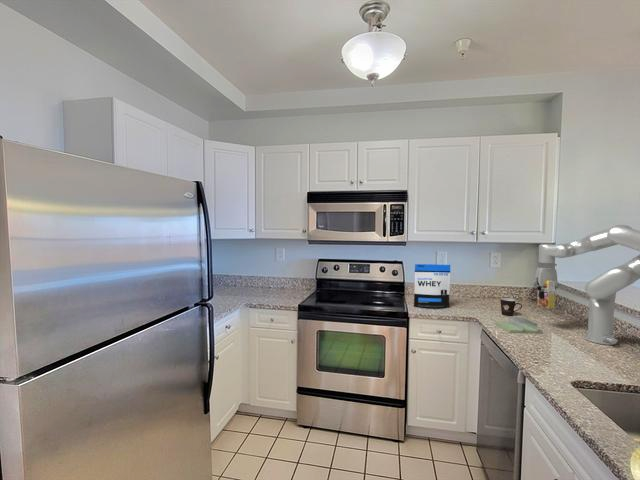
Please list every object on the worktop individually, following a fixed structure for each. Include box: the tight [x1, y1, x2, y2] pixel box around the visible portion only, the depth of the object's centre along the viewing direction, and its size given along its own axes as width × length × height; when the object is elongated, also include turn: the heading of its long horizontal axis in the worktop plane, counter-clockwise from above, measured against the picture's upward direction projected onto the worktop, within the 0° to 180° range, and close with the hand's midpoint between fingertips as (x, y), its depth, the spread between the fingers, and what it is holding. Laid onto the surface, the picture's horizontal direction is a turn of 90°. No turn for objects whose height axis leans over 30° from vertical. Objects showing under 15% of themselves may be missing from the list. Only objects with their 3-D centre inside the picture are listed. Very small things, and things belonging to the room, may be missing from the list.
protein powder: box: [413, 263, 452, 310], centre depth 230 cm, size 10×24×30 cm, turn 88°
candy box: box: [537, 280, 556, 309], centre depth 186 cm, size 9×4×15 cm, turn 1°
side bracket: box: [508, 316, 539, 331], centre depth 183 cm, size 13×8×4 cm, turn 0°
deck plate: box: [493, 320, 543, 334], centre depth 185 cm, size 16×17×2 cm
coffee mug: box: [499, 297, 523, 317], centre depth 212 cm, size 12×9×10 cm
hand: (546, 298), depth 186 cm, fingers closed on candy box, 4 cm apart
